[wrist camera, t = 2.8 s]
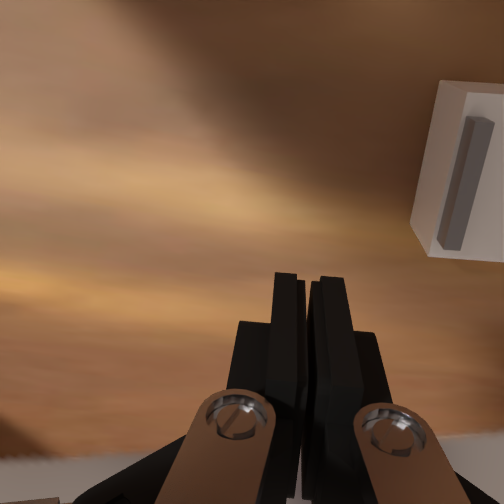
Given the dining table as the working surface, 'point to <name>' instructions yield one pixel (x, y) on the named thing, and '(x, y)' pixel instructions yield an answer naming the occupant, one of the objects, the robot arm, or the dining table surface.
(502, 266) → the dining table surface
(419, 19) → the dining table surface
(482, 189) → the white box with handle
